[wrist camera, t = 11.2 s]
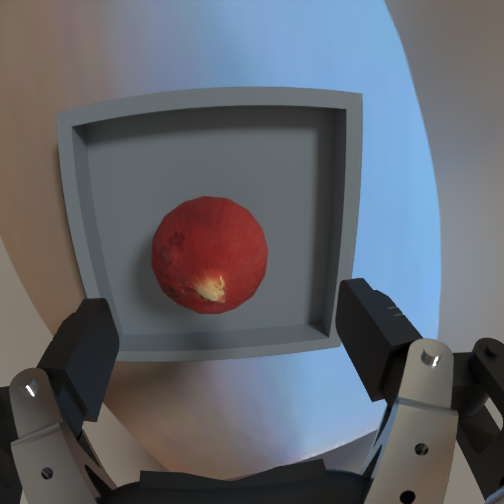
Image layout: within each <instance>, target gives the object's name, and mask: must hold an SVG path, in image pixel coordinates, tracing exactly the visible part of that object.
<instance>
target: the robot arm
mask: <svg viewBox="0 0 504 504" xmlns="http://www.w3.org/2000/svg"><path fill="white" fill-rule="evenodd" d="M335 325H336V330H337V334H338V336H339V338H340V340H341V342H342V343H343V345H344V347H345V349H346V351H347V353H348V355H349V357H350V359H351V361H352V363H353V365H354V367H355V369H356V371H357V373H358V375H359V377H360V379H361V381H362V383H363V385H364V387H365V389H366V391H367V393H368V395H369V397H370V399H371V401H372V402H374V401H378V400H382V399H385V401H386V402H387V406H386V408H385V410H384V413H383V417H382V420H381V422H380V425H379V428H378V431H377V434H376V437H375V439H374V442H373V445H372V448H371V450H370V452H369V455H368V457H367V459H366V461H365V463H364V465H363V467H362V469H361V471H360V474H357V473H353V472H349V471H344V470H336V469H326V468H325V465H324V462H323V459H319V460H314V461H309V462H304V463H298V464H292V465H285V466H278V467H276V468H273V469H270V470H267V471H264V472H261V473H258V474H255V475H252V476H249V477H246V478H242V479H239V480H236V481H224V480H218V479H212V478H207V477H202V476H197V475H192V474H188V473H180V472H155V471H140V481H138V482H134V483H129V484H126V485H123V486H120V487H117V486H116V484H115V483H114V482H113V481H112V479H111V478H110V477H109V475H108V474H107V472H106V471H105V469H104V467H103V466H102V464H101V462H100V460H99V458H98V457H97V455H96V453H95V451H94V449H93V447H92V445H91V444H90V442H89V440H88V438H87V436H86V434H85V432H84V430H83V429H82V425H83V421H91V422H97V419H98V416H99V412H100V409H101V405H102V402H103V398H104V395H105V392H106V388H107V385H108V382H109V379H110V376H111V373H112V369H113V366H114V363H115V360H116V357H117V354H118V352H119V345H120V343H119V335H118V332H117V329H116V326H115V323H114V320H113V317H112V313H111V310H110V307H109V304H108V302H107V300H106V299H105V298H86V299H84V300H83V301H82V303H81V305H80V306H79V308H78V309H77V311H76V313H72V314H71V315H70V316H69V317H68V318H66V319H65V320H64V321H63V322H62V324H61V326H60V327H59V329H58V331H57V333H56V334H55V336H54V337H53V341H51V342H50V344H49V346H48V348H47V349H46V351H45V353H44V355H43V356H42V358H41V360H40V362H39V363H38V365H37V367H36V368H29V369H26V370H23V371H21V372H20V373H18V374H17V375H16V376H15V377H14V378H13V380H12V382H11V383H10V386H7V387H0V504H20V499H21V494H22V489H23V490H24V493H25V496H26V499H27V501H28V504H443V502H444V498H445V494H446V490H447V485H448V481H449V476H450V471H451V466H452V461H453V454H454V448H455V441H456V440H457V442H458V444H459V446H460V448H461V450H462V452H463V454H464V456H465V458H466V460H467V462H468V464H469V466H470V468H471V471H472V473H473V475H474V477H475V479H476V481H477V484H478V486H479V488H480V490H481V493H482V495H483V497H484V499H485V504H504V344H503V343H501V342H500V341H498V340H495V339H492V338H482V339H479V340H478V341H477V342H476V344H475V345H474V348H473V350H472V352H468V353H467V352H466V353H452V351H451V350H450V349H449V347H448V346H446V345H445V344H444V343H442V342H440V341H438V340H435V339H429V338H423V337H422V336H421V335H420V333H419V332H418V331H417V330H416V328H415V327H414V326H413V325H412V324H411V322H410V321H409V320H408V319H407V318H406V316H405V315H403V314H402V312H401V310H400V309H399V308H398V307H396V305H395V303H394V302H393V301H392V300H391V299H390V298H389V297H388V296H387V295H385V294H383V293H382V292H380V291H378V290H373V289H372V288H371V287H370V285H369V284H368V283H367V282H366V281H365V279H363V278H356V279H348V280H342V281H341V282H340V285H339V292H338V301H337V308H336V316H335ZM489 397H490V398H491V400H492V401H493V403H494V404H495V406H496V407H497V409H498V410H499V412H500V413H501V415H502V418H503V427H502V430H501V431H500V429H499V428H498V426H497V424H496V423H495V421H494V419H493V418H492V416H491V414H490V413H489V411H488V410H487V408H486V406H485V405H484V404H485V403H486V401H487V399H488V398H489Z"/></svg>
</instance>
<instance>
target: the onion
mask: <svg viewBox="0 0 504 504" xmlns="http://www.w3.org/2000/svg"><path fill="white" fill-rule="evenodd" d="M267 258H268V247H267V244H266V240H265V236H264V233H263V229H262V227H261V226H260V225H259V223H258V222H257V221H256V219H255V218H254V217H253V216H252V214H251V213H250V212H249V210H247V209H246V208H244V207H242V206H240V205H239V204H237V203H235V202H234V201H232V200H230V199H228V198H222V197H210V196H202V197H199V198H196V199H192V200H188V201H185V202H183V203H181V204H180V205H179V206H177V207H176V208H175V209H173V210H172V211H171V212H169V213H168V214H167V215H165V216H164V218H163V220H162V221H161V223H160V225H159V227H158V229H157V231H156V232H155V234H154V237H153V241H152V255H151V266H152V269H153V271H154V274H155V276H156V278H157V281H158V283H159V286H160V288H161V290H162V292H163V293H164V294H166V295H167V296H168V297H169V298H171V299H172V300H173V301H174V302H176V303H177V304H178V305H180V306H183V307H185V308H187V309H190V310H192V311H194V312H197V313H199V314H221V313H224V312H227V311H230V310H233V309H236V308H237V307H239V306H240V305H241V304H243V303H244V302H245V301H247V300H248V299H250V298H251V297H253V296H254V294H255V292H256V291H257V289H258V287H259V285H260V284H261V282H262V280H263V278H264V277H265V274H266V266H267Z"/></svg>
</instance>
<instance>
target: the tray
mask: <svg viewBox="0 0 504 504" xmlns="http://www.w3.org/2000/svg"><path fill="white" fill-rule="evenodd" d="M56 121H57V138H58V150H59V160H60V169H61V178H62V185H63V192H64V198H65V205H66V210H67V216H68V221H69V227H70V231H71V236H72V241H73V245H74V250H75V254H76V258H77V262H78V266H79V270H80V274H81V278H82V281H83V285H84V289H85V292H86V295H87V298H105V299H106V300H107V302H108V304H109V307H110V310H111V313H112V317H113V320H114V323H115V326H116V329H117V332H118V335H119V343H120V345H119V352H118V354H117V357H116V360H115V361H130V362H172V361H204V360H223V359H237V358H250V357H262V356H272V355H281V354H290V353H298V352H306V351H314V350H321V349H328V348H334V347H340V345H341V340H340V338H339V336H338V334H337V330H336V325H335V316H336V308H337V301H338V292H339V285H340V282H341V281H342V280H348V279H351V278H352V270H353V262H354V254H355V245H356V235H357V225H358V214H359V201H360V186H361V166H362V132H363V100H362V94H361V93H353V92H344V91H335V90H324V89H311V88H293V87H222V88H204V89H190V90H179V91H170V92H161V93H153V94H146V95H139V96H133V97H127V98H121V99H116V100H110V101H105V102H100V103H96V104H91V105H87V106H82V107H78V108H74V109H70V110H66V111H62V112H59V113H56ZM202 196H210V197H222V198H228V199H230V200H232V201H234V202H235V203H237V204H239V205H240V206H242V207H244V208H246V209H247V210H249V212H250V213H251V214H252V216H253V217H254V218H255V219H256V221H257V222H258V223H259V225H260V226H261V227H262V229H263V233H264V236H265V240H266V244H267V247H268V258H267V266H266V274H265V277H264V278H263V280H262V282H261V284H260V285H259V287H258V289H257V291H256V292H255V294H254V296H253V297H251V298H250V299H248V300H247V301H245V302H244V303H243V304H241V305H240V306H239V307H237V308H236V309H233V310H230V311H227V312H224V313H221V314H199V313H197V312H194V311H192V310H190V309H187V308H185V307H183V306H180V305H178V304H177V303H176V302H174V301H173V300H172V299H171V298H169V297H168V296H167V295H166V294H164V293H163V292H162V290H161V288H160V286H159V283H158V281H157V278H156V276H155V274H154V271H153V269H152V266H151V255H152V241H153V237H154V234H155V232H156V231H157V229H158V227H159V225H160V223H161V221H162V220H163V218H164V216H165V215H167V214H168V213H169V212H171V211H172V210H173V209H175V208H176V207H177V206H179V205H180V204H181V203H183V202H185V201H188V200H192V199H196V198H199V197H202Z"/></svg>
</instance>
